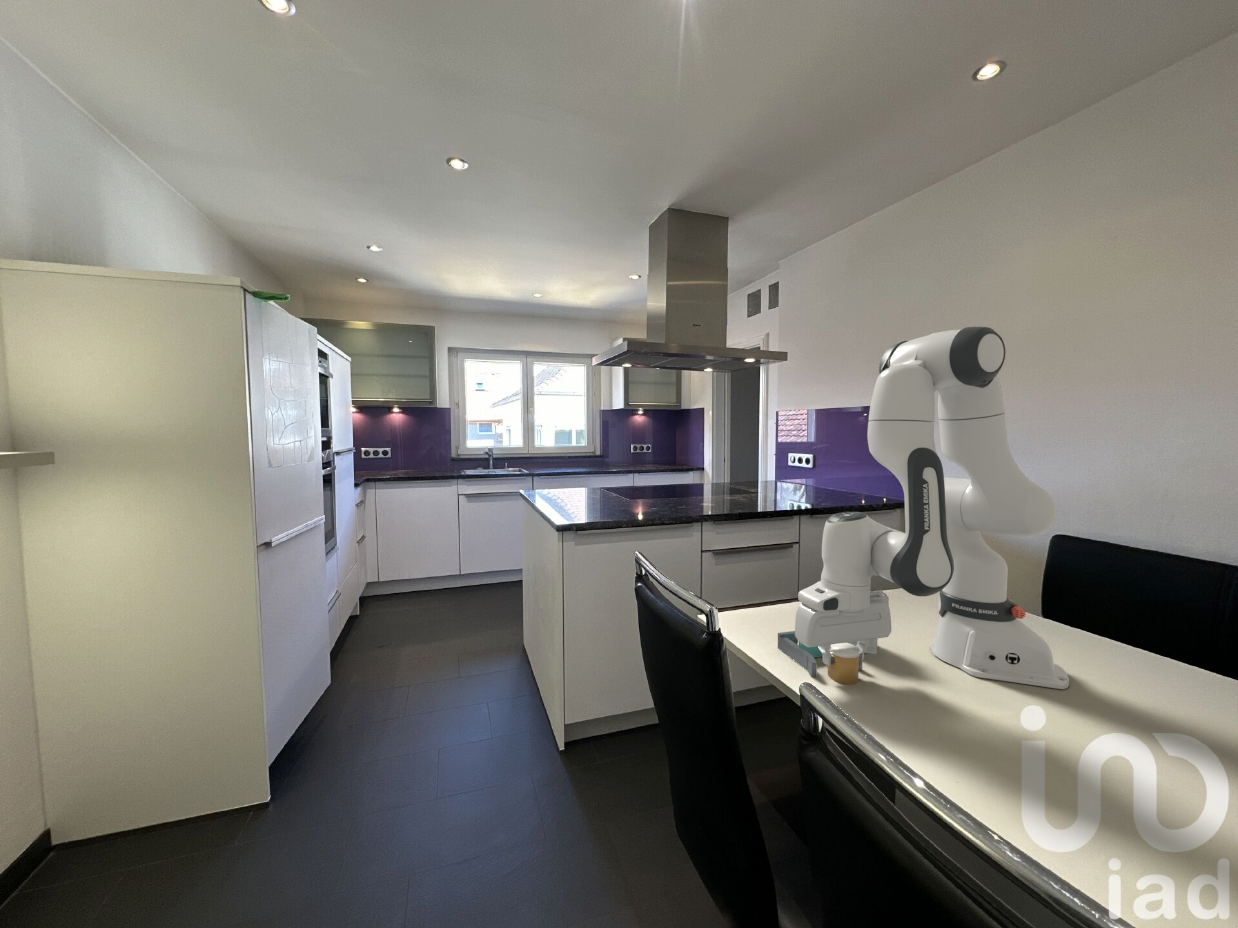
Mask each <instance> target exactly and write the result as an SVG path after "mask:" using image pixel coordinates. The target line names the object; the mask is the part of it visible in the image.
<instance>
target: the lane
mask: <svg viewBox="0 0 1238 928" xmlns="http://www.w3.org/2000/svg"><path fill="white" fill-rule="evenodd" d="M777 649H779V650H780V651H781V650H782V651H781V652H783V653H784V654H785V655H786V654H787V655H786V656H788V657H789V656H790V657H791V658H790V657H789V658H790V659H791V660H793V659H794V660H795V661H794V660H793V661H794V662H796V661H797V662H796V663H797V664H798V663H799V664H800V665H799V664H798V665H799V666H801V667H802V668H803V667H804V668H803V669H805V670H806V671H807V670H808V671H807V672H808V674H809V676H810V678H817V676H818V675H817V671H818V669H817V668H818V662H817V661H816V659H815V657H813V656H812V655H811V654H810V653H808V652H807V651H805V650H804V649H803V648H801V647H800V646H799V641H798V640H797V638H796V636H795V630H791V631H782V632H778V633H777ZM862 670H863V660H862V661H859V670H858V672H860V671H862Z"/></svg>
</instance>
